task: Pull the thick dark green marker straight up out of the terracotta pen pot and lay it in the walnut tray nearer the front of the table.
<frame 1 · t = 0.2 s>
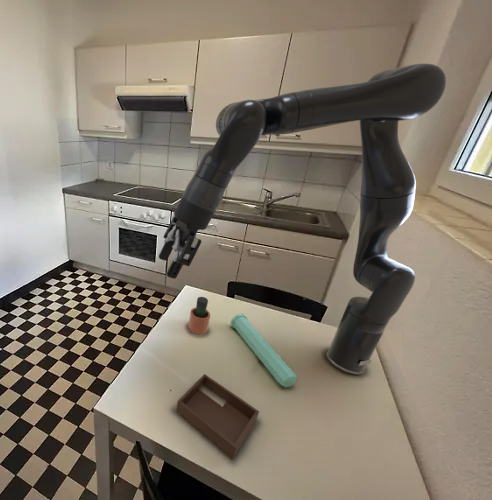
hand: (166, 267, 63), 31 cm above the table, tool tilted 20°, fingers open, 8 cm apart
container: (258, 355, 83), on the table
marker: (197, 327, 91), point 1 cm above the table, touching pen pot
pen pot: (197, 329, 92), on the table
tray: (215, 416, 64), on the table
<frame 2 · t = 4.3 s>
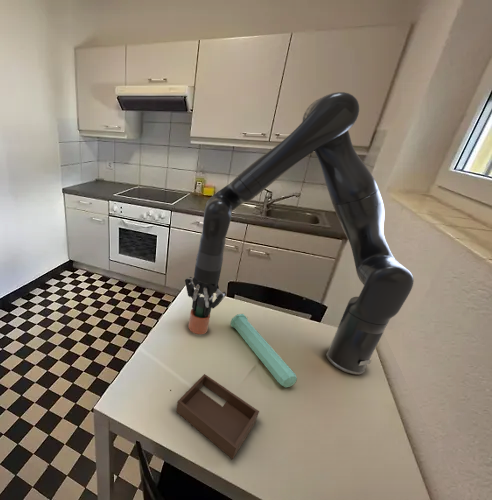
hand: (200, 312, 89), 7 cm above the table, tool pointing down, fingers closed on marker, 3 cm apart
marker: (197, 327, 91), point 1 cm above the table, touching gripper, pen pot
everything else where it was.
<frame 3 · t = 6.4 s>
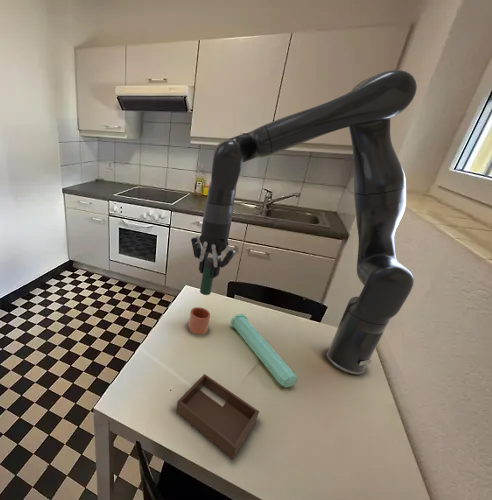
hand: (208, 274, 82), 21 cm above the table, tool pointing down, fingers closed on marker, 3 cm apart
marker: (205, 292, 85), point 15 cm above the table, touching gripper
everything else where it was.
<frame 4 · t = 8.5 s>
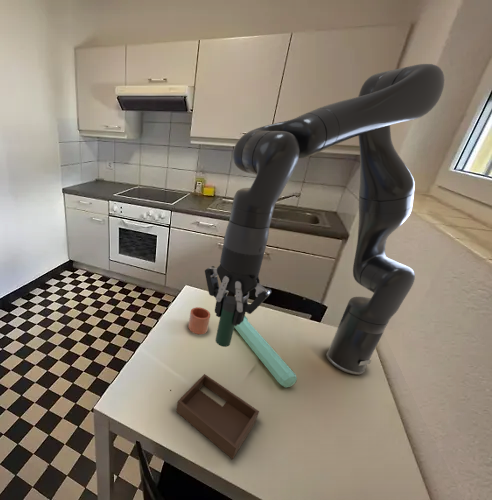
hand: (227, 319, 59), 23 cm above the table, tool pointing down, fingers closed on marker, 3 cm apart
marker: (222, 341, 62), point 17 cm above the table, touching gripper
everything else where it was.
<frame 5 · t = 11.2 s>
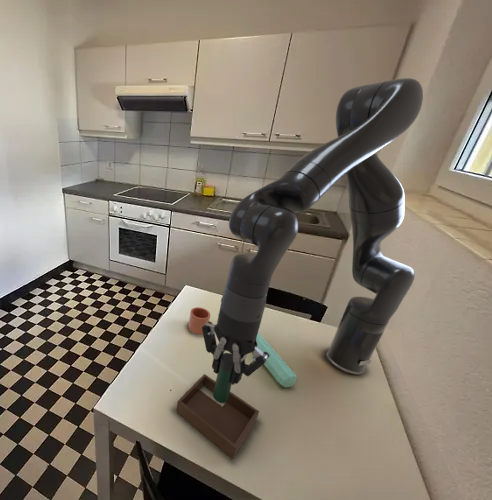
hand: (225, 375, 59), 13 cm above the table, tool pointing down, fingers closed on marker, 3 cm apart
marker: (220, 396, 61), point 7 cm above the table, touching gripper
everything else where it was.
when the fingers open (7 cm above the table, at t = 13.0 s): marker stays where it is, resting on tray.
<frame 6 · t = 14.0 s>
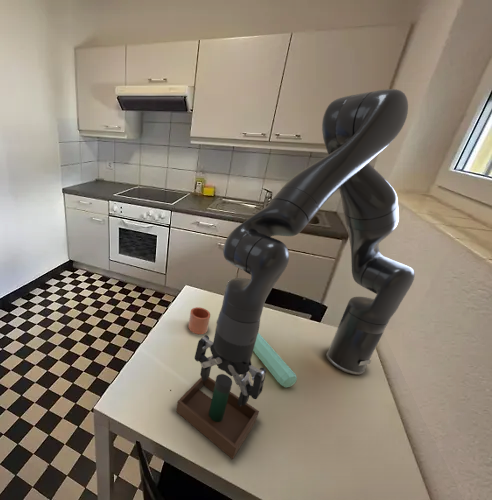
hand: (222, 390, 60), 8 cm above the table, tool pointing down, fingers open, 8 cm apart
marker: (215, 415, 63), resting on tray
everything else where it was.
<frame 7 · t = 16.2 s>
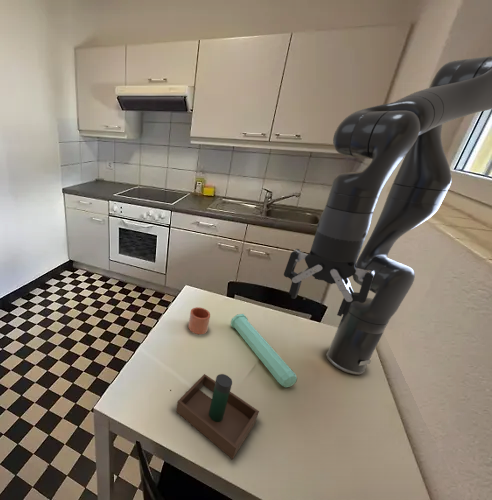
hand: (315, 305, 58), 28 cm above the table, tool pointing down, fingers open, 8 cm apart
nothing on the table moved.
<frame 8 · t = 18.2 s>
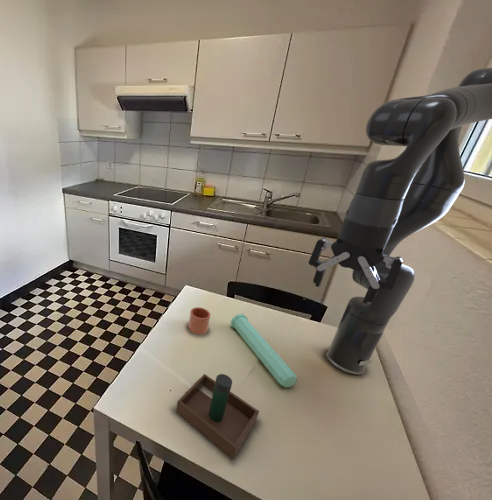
hand: (340, 293, 59), 30 cm above the table, tool pointing down, fingers open, 8 cm apart
nothing on the table moved.
at the end: marker inside the target area on the tray (0.1 cm from its centre), point 0.5 cm above the tray's base; the gripper is holding nothing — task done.
